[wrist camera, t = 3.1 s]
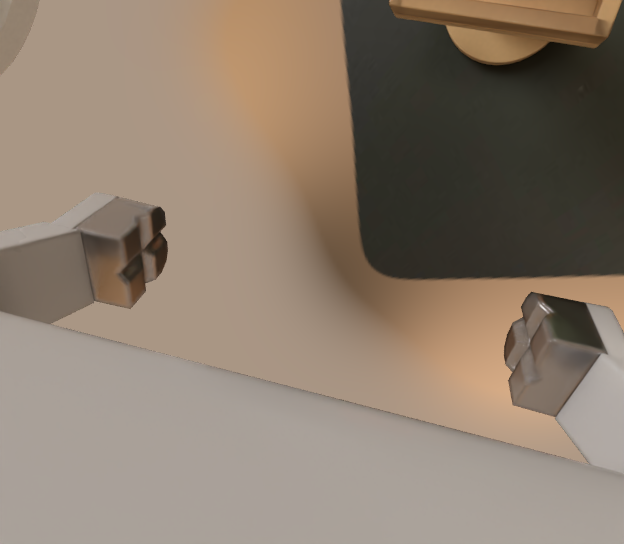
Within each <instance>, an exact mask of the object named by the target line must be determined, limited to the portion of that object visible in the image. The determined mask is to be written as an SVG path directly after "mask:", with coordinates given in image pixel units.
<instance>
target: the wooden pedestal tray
mask: <svg viewBox="0 0 624 544" xmlns="http://www.w3.org/2000/svg"><path fill="white" fill-rule="evenodd" d="M621 2H622V0H390V1H389V6H390V8H391V10H392V11H393V13H394V15H395V17H397V18H403V19H409V20H416V21H422V22H429V23H435V24H442V25H446V28H447V31H448V33H449V36H450V38H451V40H452V41H453V43H454V44H455V46H456V47H457V48H458V49H459V50H460V51H461V52H462V53H463V54H465V55H466V56H467V57H469V58H471V59H472V60H475V61H477V62H480V63H484V64H488V65H506V64H512V63H515V62H519V61H521V60H524V59H526V58H528V57H530V56H532V55H534V54H536V53H537V52H538V51H540V50H541V49H543V48H544V47H545V46H546V45H547V44H548V43H549V42H558V43H564V44H571V45H577V46H583V47H590V48H596V47H597V46H599V45H600V44H601V43H602V42H603V41H604V40H605V39H606V38H608V36H609V34H610V32H611V29H612V26H613V23H614V21H615V18H616V15H617V13H618V10H619V7H620V5H621Z"/></svg>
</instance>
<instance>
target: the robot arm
mask: <svg viewBox="0 0 624 544" xmlns="http://www.w3.org/2000/svg"><path fill="white" fill-rule="evenodd" d="M165 226H166V220H165V212H164V211H163V210H162V208H161V207H158V206H154V205H149V204H146V203H142V202H138V201H133V200H129V199H125V198H120V197H117V196H113V195H108V194H104V193H94V194H92V195H91V196H89V197H88V198H87V199H85V200H84V201H82V202H81V203H79V204H78V205H76V206H75V207H74V208H72V209H71V210H69V211H68V212H67V213H65V214H63V215H62V216H61V217H59V218H58V219H56V220H55V221H53V222H52V223H47V222H41V223H37V224H33V225H28V226H23V227H19V228H14V229H10V230H5V231H1V232H0V544H624V333H623V330H622V328H621V327H620V324H619V322H618V320H617V318H616V317H615V315H614V313H613V311H612V310H611V309H609V308H608V307H606V306H600V305H595V304H590V303H584V302H579V301H574V300H568V299H564V298H559V297H554V296H549V295H544V294H539V293H534V292H531V293H530V294H529V295H528V296H527V297H526V299H525V301H524V302H523V304H522V306H521V309H522V312H523V317H522V318H521V319H519V320H517V321H515V322H513V323H512V326H511V328H510V330H509V332H508V334H507V338H506V342H505V346H504V358H505V364H506V366H508V368H509V369H510V370H511V371H512V372H513V373H512V374H511V376H510V378H509V380H508V381H509V386H510V392H511V398H512V403H513V405H514V406H518V407H521V408H525V409H529V410H532V411H536V412H539V413H543V414H547V415H550V416H554V417H556V418H555V419H556V421H557V422H558V423H559V425H560V426H561V427H562V429H563V430H564V431H565V433H566V434H567V435H568V436H569V438H570V439H571V440H572V442H573V443H574V445H575V446H576V447H577V448H578V450H579V451H580V452H581V454H582V455H583V456H584V458H585V459H586V460H587V462H588V463H589V464H586V463H582V462H579V461H575V460H571V459H567V458H563V457H559V456H556V455H552V454H548V453H544V452H540V451H536V450H532V449H529V448H524V447H521V446H517V445H513V444H509V443H505V442H502V441H498V440H494V439H490V438H486V437H482V436H479V435H475V434H471V433H467V432H463V431H459V430H456V429H452V428H448V427H444V426H440V425H436V424H433V423H429V422H425V421H421V420H417V419H413V418H409V417H405V416H401V415H398V414H394V413H390V412H386V411H383V410H379V409H375V408H371V407H367V406H363V405H359V404H356V403H352V402H348V401H344V400H340V399H336V398H332V397H329V396H325V395H321V394H317V393H312V392H308V391H305V390H301V389H297V388H293V387H290V386H286V385H282V384H278V383H274V382H270V381H266V380H263V379H259V378H255V377H251V376H248V375H244V374H240V373H236V372H232V371H228V370H224V369H221V368H217V367H212V366H209V365H205V364H201V363H197V362H194V361H190V360H186V359H182V358H178V357H174V356H171V355H167V354H163V353H159V352H155V351H151V350H147V349H144V348H139V347H136V346H132V345H128V344H124V343H121V342H117V341H113V340H109V339H105V338H101V337H98V336H94V335H90V334H86V333H82V332H78V331H74V330H70V329H67V328H62V327H59V326H55V325H51V323H53V322H55V321H57V320H59V319H61V318H63V317H66V316H68V315H70V314H72V313H74V312H76V311H78V310H80V309H82V308H84V307H86V306H88V305H90V304H92V303H94V301H97V302H102V303H106V304H110V305H115V306H120V307H124V308H129V309H131V308H132V307H133V305H134V304H135V303H136V302H137V301H138V300H139V298H140V297H141V296H142V295H143V294H144V293H145V291H146V287H145V283H148V282H150V281H153V280H156V278H157V277H158V276H159V275H160V274H161V272H162V270H163V268H164V265H165V263H166V260H167V252H168V247H167V241H166V239H165V238H164V237H163V235H162V234H161V230H162V229H163V228H164V227H165Z"/></svg>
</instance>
